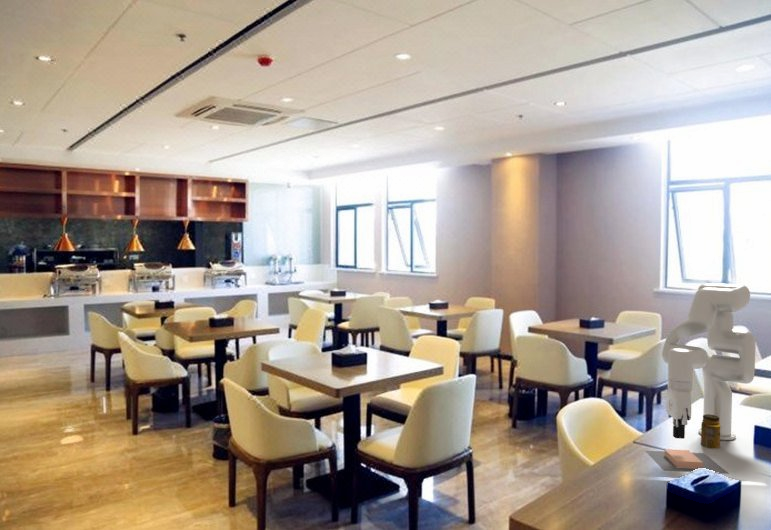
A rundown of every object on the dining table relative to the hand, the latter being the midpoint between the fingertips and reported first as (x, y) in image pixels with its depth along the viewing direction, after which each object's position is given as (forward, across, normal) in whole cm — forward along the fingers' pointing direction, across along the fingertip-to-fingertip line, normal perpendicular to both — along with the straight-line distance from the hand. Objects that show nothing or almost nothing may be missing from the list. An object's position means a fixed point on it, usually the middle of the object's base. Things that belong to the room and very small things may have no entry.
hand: (678, 437), depth 193 cm
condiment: (+8, -14, +16) cm, 23 cm away
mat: (+8, +3, +1) cm, 9 cm away
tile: (+6, -2, 0) cm, 6 cm away
